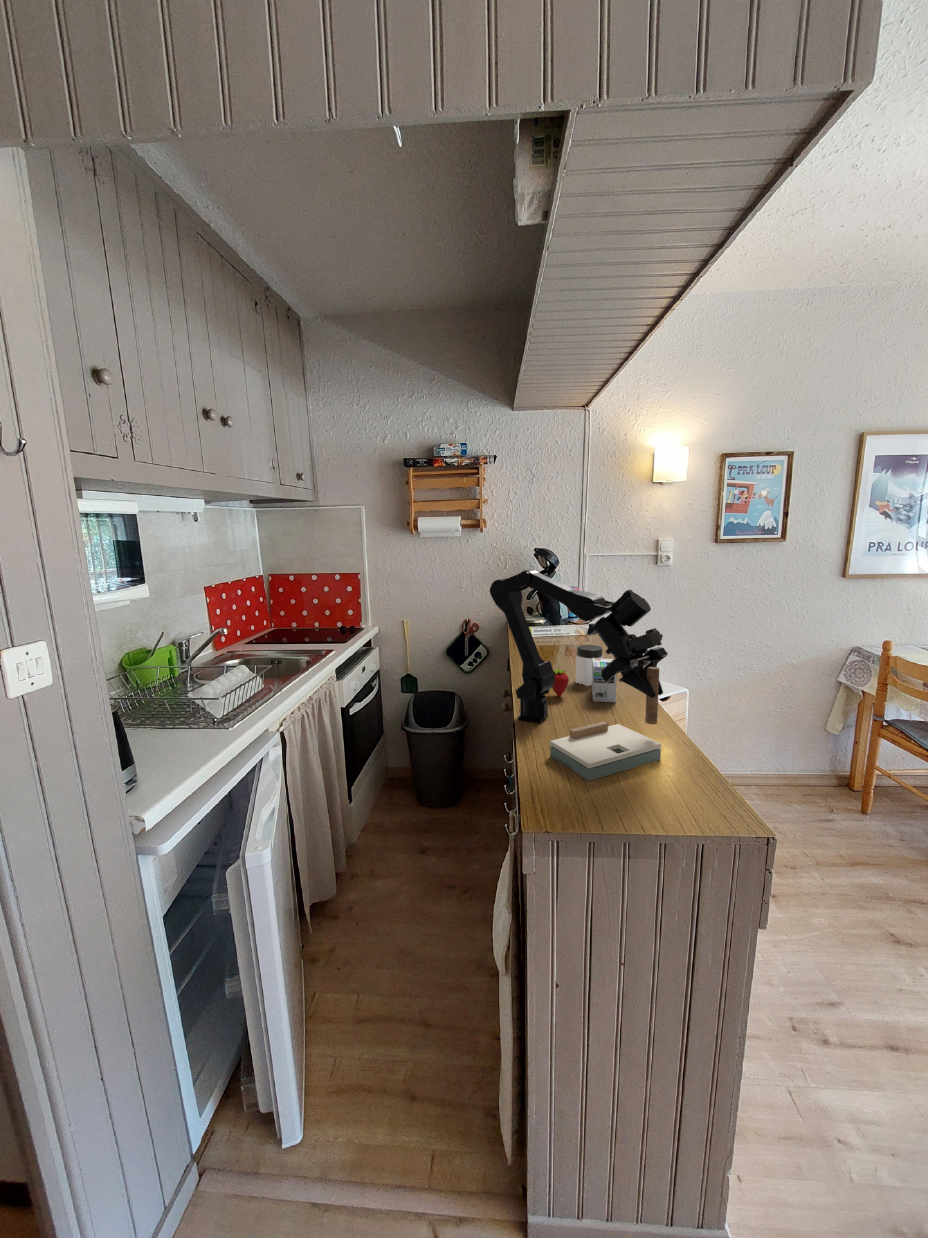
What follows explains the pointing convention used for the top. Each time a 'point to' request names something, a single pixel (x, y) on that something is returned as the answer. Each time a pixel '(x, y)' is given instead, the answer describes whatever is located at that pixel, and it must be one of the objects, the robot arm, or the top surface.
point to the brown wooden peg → (653, 702)
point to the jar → (586, 662)
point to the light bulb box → (602, 682)
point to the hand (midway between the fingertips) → (658, 695)
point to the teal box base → (605, 768)
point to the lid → (603, 744)
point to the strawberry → (560, 682)
